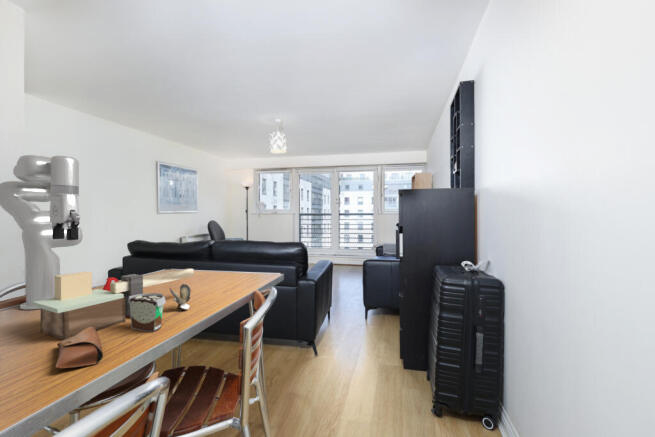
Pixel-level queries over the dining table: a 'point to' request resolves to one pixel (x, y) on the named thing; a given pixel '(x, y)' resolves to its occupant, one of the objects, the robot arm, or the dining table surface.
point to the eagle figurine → (182, 297)
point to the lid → (75, 293)
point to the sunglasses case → (80, 350)
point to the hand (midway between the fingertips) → (65, 239)
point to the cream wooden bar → (153, 280)
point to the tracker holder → (107, 285)
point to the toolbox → (91, 313)
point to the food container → (146, 311)
